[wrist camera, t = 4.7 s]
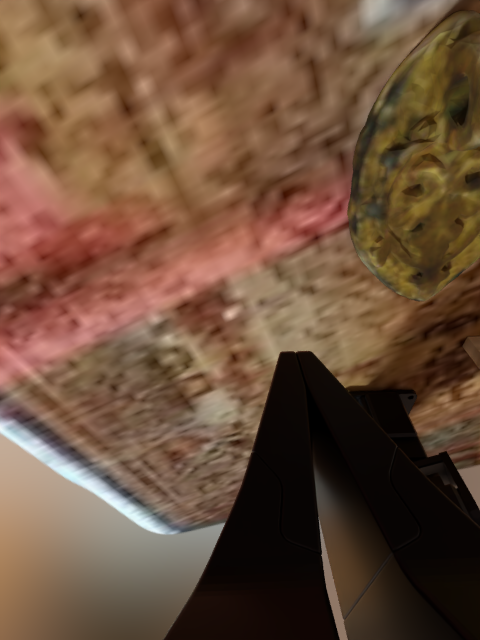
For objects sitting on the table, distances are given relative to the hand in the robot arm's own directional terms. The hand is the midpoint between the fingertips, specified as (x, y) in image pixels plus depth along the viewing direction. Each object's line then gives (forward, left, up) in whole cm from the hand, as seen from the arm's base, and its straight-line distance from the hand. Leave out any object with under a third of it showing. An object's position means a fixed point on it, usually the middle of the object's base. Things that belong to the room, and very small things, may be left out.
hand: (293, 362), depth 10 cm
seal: (0, -10, -14) cm, 17 cm away
